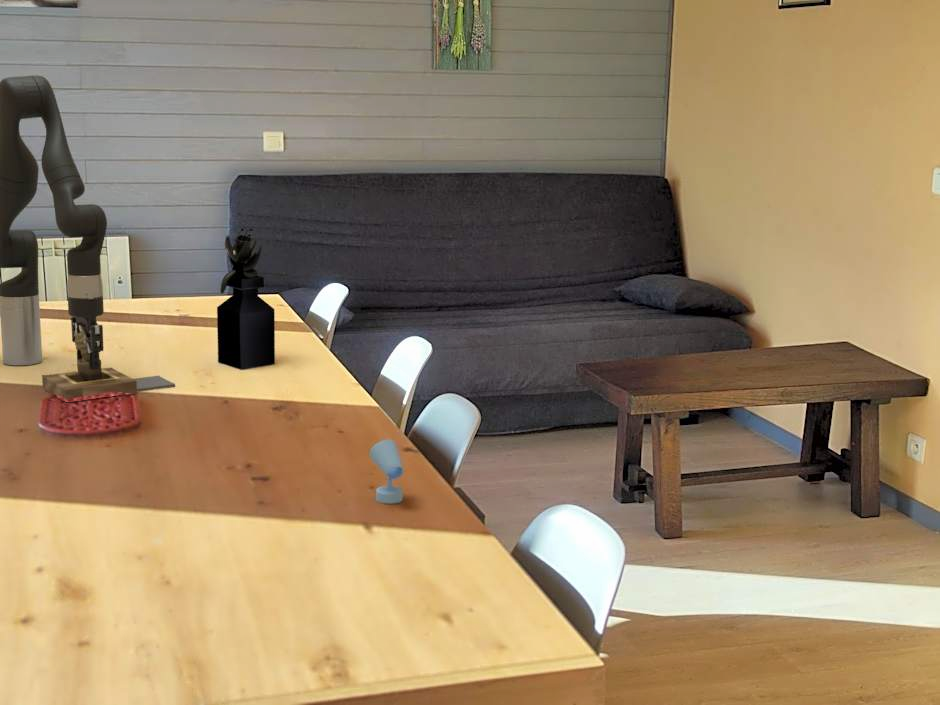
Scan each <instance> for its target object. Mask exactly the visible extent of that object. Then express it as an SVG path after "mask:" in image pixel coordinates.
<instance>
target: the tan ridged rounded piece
mask: <svg viewBox="0 0 940 705" xmlns="http://www.w3.org/2000/svg"><path fill="white" fill-rule="evenodd" d="M74 336H75V338H76V339H75V342H74V344H75V343H76V344H77V345H76V346H75V349H76V351H77V350H80V351H81V355H82V358H81V359H79V360H78V361H76V368H77V371H78V373H79V374H80V376H81V377H82V378H83V382H85V381H94V380H97V377H98V375H99V374H100V372H101V369H102V360H101V359H100V358H99V361H100V368H99V369H93V370H91V369H90V368H89V357H88V353H89V352H88V348H87V345H86V344H84V341H83V333H75V334H74ZM88 339H90V337H89V338H88ZM94 345H95V344H94ZM95 346H96V345H95Z"/></svg>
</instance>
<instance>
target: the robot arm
mask: <svg viewBox="0 0 940 705" xmlns="http://www.w3.org/2000/svg"><path fill="white" fill-rule="evenodd" d="M34 118H36V119H37V118H41V119H42V122H43V124H44V128H45V141H44V146H43V149H42V154H41V168H42V173H43V175H44V178H45V180H46V183H47V185H48V186H49V187H48V188H49V189H50V191H51V193H52V199H53V200H52V201H53V207H54V214H55V222H56V226H57V228H58V230H59V231H60V232H61V233H62V234H63V235H64V236H66V237H67V238H82V239H81V242H80V244H79V245H77V246H75V247H72V248H70V249H68V250H67V253H66V262H67V263H66V265H67V266H66V267H67V282H66V289H67V311H68V312H67V313H68V315H69V316H70V324H71V341H72V342H73V343H74V345H75V347H76V345H77V344H76V343H75V339H76V338H75V336H74V334H75V333H83V341H84V344H86V345H87V348H88V352H89V353H88V357H89V368H90V369H91V370H93V369H99V368H100V361H99V359H100V353H101V352H103V351H104V329H103V328H104V326H103V325H102V324H98V323H97V322H98V321H97V317H98V316H99V317H100V316H102V315H103V314H104V313H105V312H104V310H105V309H104V308H105V307H104V289H103V288H104V287H103V281H102V270H101V267H102V266H101V254H102V251H103V247H104V246H103V245H104V242H105V237H106V233H107V228H108V227H107V226H108V220H107V214H106V213H105V211H104V209H103V208H102V207H101V206H100V205H98V204H94V203H89V204H75V201H74V200H76V199H79V198H80V197H82V196H83V195H84V193H85V190H86V189H85V184H84V181H83V179H82V177H81V175H80V172H79V170H78V167H77V166H76V163H75V162H74V161H75V160H74V158H73V156H72V153H71V150H70V147H69V144H68V140H67V136H66V132H65V127H64V124H63V120H62V116H61V114H60V109H59V106H58V102H57V99H56V96H55V93H54V90H53V88H52V85H51V83H50V82H49V81H48V80H47V79H46V78H45V77H44V76H43V75H23V76H10V77H5V78H3V79H1V81H0V269H14V268H15V269H19V268H20V269H21V268H22V269H21V271H20V272H19V273H18V274H17V275H15V276H14V277H12V278H9V279H7V280H5V281H2V282H0V332H1V333H0V334H1V350H2V363H3V364H4V365H7V366H30V365H37V364H39V363H41V362H43V346H42V345H43V344H42V330H41V329H42V328H41V327H42V326H41V310H40V308H41V307H40V294H39V293H40V291H39V243H38V237H37V236H36V233H35V232H34V231H33V230H29V229H20V230H19V229H17V230H16V229H15V230H10V229H11V227H12V225H13V222H14V221H15V220H16V218H17V217H18V216H19V215H20V214H21V212H23V211H24V209H25V208H26V207H28V205H29V204H30V203H31V201H32V200H33V199H34V197H35V196H36V195H37V191H38V183H39V170H40V169H39V164H38V162H37V160H36V158H35V156H34V155H33V153H32V151H31V150H30V149H29V147H28V146H27V145H26V144H25V142H24V140H23V139H22V136H21V135H20V134H21V132H20V122H21V120H24V119H25V120H26V119H34ZM89 337H90V339H88V338H89ZM94 344H95V345H96V346H95V345H94ZM81 358H82V355H81V351H80V350H77V349H76V360H77V361H78V360H79V359H81ZM77 361H76V362H77Z"/></svg>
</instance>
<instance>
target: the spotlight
mask: <svg viewBox="0 0 940 705" xmlns="http://www.w3.org/2000/svg"><path fill="white" fill-rule="evenodd" d="M369 450H370V451H369V458H370V459H371V461H372V462H374V464H375V465H376V466H377V467H378V468H379V469H380V471H381V472H383V474H384V475H385V476H386V477H387V478H386V480H387V481H386V483H387V484H386V485H382V486H379V487H377V488H376V489H375V500H376V501H377V503H381V504H388V505H389V504H398V503H400V502H402V501H403V498H404V497H403V492H404V491H403V488H402V487H400V486H396V485H393V481H395V480H397V479H399V478H400V479H401V477H402V476H403V475H404V470H405V469H404V467H403V464H402V459H401V455H400V452H399V448H398V445H397V443H396V441H394V440H393V439H383V440H380V441H378V442H377V443H375V444H374V445H373V446H372V447H371V449H369Z"/></svg>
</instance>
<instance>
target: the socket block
mask: <svg viewBox="0 0 940 705" xmlns="http://www.w3.org/2000/svg"><path fill="white" fill-rule="evenodd" d="M41 378H42V389H44V390H45V391H47V392H48V393H49V394H51V395H53V396H54V395H60V396H62V397H63V398H65V399H71V398H77V397H83V396H90V395H97V394H103V393H109V392H122V393H131V394H132V395H138V392H137V381H136V380H134V379H135V378H131V377H130V376H128V375H126V374H124V373H122V372H121V371H120V370H119V371H118V370H117V369H115V368H113V367H101V372H100V374H99V375H98V377H97V380H94V381H85V382H83V378H82V377H81V376H80V374H79V373H78V370H76V371H69V372H58V373H52V374H44V375H43V374H42V377H41Z"/></svg>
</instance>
